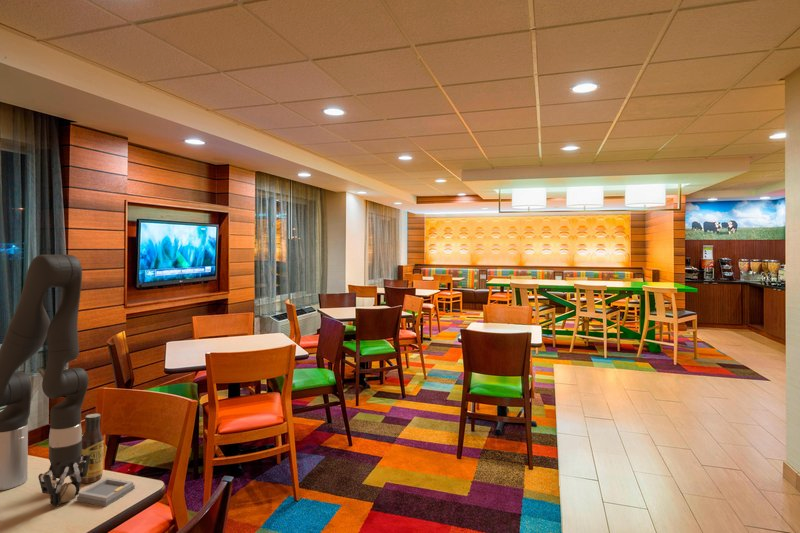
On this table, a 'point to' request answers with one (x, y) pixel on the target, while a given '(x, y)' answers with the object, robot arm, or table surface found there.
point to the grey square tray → (105, 491)
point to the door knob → (67, 492)
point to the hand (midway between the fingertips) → (65, 499)
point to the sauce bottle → (93, 448)
